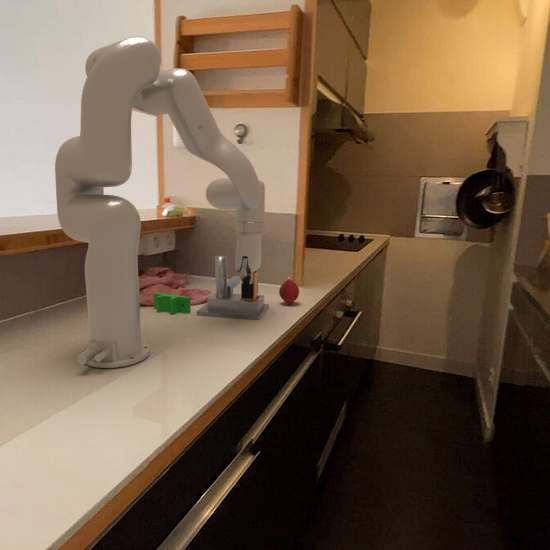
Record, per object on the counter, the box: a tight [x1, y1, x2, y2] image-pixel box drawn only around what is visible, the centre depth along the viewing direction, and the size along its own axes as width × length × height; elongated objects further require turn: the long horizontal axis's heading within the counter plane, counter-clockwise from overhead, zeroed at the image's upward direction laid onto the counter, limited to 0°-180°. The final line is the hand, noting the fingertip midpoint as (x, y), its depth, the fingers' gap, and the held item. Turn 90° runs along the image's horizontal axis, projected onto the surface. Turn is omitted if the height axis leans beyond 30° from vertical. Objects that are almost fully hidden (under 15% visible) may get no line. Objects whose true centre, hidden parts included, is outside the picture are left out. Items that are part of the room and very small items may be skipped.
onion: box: [278, 276, 300, 305], centre depth 125 cm, size 6×6×8 cm
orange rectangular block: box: [243, 271, 259, 301], centre depth 116 cm, size 3×3×10 cm
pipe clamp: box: [153, 292, 191, 316], centre depth 116 cm, size 11×4×5 cm, turn 67°
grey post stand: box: [195, 255, 270, 321], centre depth 121 cm, size 22×17×15 cm
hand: (249, 295), depth 116 cm, fingers open, 4 cm apart
